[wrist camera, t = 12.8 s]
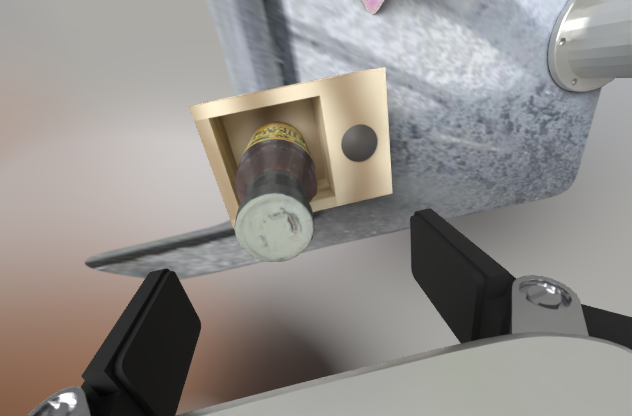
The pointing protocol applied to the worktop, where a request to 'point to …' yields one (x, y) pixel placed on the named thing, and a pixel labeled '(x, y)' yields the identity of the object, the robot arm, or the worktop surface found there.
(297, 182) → the sauce bottle
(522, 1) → the worktop surface
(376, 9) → the lily
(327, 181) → the caddy
